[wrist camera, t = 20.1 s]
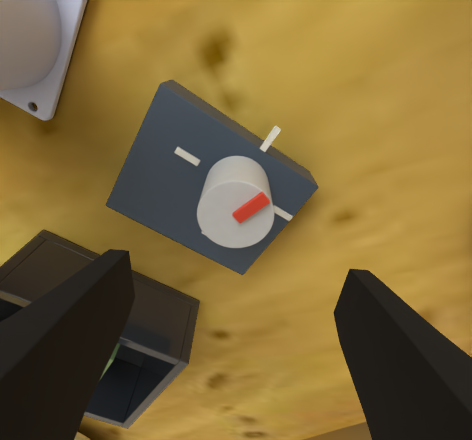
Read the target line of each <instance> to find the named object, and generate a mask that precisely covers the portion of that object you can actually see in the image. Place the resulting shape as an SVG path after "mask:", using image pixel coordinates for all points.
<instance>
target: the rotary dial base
mask: <svg viewBox="0 0 472 440" xmlns="http://www.w3.org/2000/svg"><path fill="white" fill-rule="evenodd" d="M280 130H281V129H280V128H278V127H277V126H276V125H275V126H274V128H273V129H272V131H271V132H270V133H269V135H268V136H267V138H266V139H265V141H263V140H262V139H260V138H259V137H257V136H256V135H254V134H253V133H251V132H250V131H248V130H247V129H245V128H244V127H242V126H241V125H239V124H238V123H236V122H235V121H233V120H232V119H230V118H229V117H227V116H226V115H224V114H223V113H221V112H220V111H218V110H217V109H216V108H214V107H213V106H211V105H210V104H208V103H207V102H205V101H204V100H202V99H201V98H199V97H198V96H196V95H195V94H193V93H192V92H190V91H189V90H187V89H186V88H184V87H183V86H181V85H180V84H178V83H177V82H175V81H174V80H169V81H166V82H163V83H161V84H160V85H159V87H158V90H157V92H156V94H155V96H154V99H153V101H152V103H151V105H150V107H149V110H148V112H147V114H146V116H145V119H144V121H143V123H142V125H141V127H140V130H139V132H138V134H137V136H136V138H135V141H134V143H133V145H132V147H131V150H130V152H129V154H128V156H127V158H126V161H125V163H124V165H123V167H122V170H121V172H120V174H119V176H118V178H117V181H116V183H115V185H114V187H113V190H112V192H111V194H110V196H109V198H108V201H107V203H106V206H107V207H109V208H111V209H113V210H115V211H117V212H119V213H121V214H123V215H125V216H127V217H129V218H131V219H133V220H135V221H137V222H139V223H141V224H143V225H145V226H147V227H149V228H151V229H153V230H155V231H157V232H158V233H160V234H162V235H164V236H166V237H168V238H170V239H172V240H174V241H176V242H178V243H180V244H182V245H184V246H186V247H188V248H190V249H192V250H194V251H196V252H198V253H200V254H202V255H204V256H206V257H208V258H210V259H212V260H214V261H216V262H218V263H220V264H221V265H223V266H225V267H227V268H229V269H231V270H233V271H235V272H237V273H239V274H241V275H243V274H244V273H245V272H246V271H247V270H248V268H249V267H250V266H251V265H252V264H253V263H254V261H255V260H256V259H257V258H258V257H259V256H260V255H261V253H262V252H263V251H264V250H265V249H266V248H267V246H268V245H269V244H270V243H271V242H272V241H273V239H274V238H275V237H276V236H277V235H278V234H279V233H280V231H281V230H282V229H283V228H284V227H285V226H286V224H287V223H288V222H289V221H290V220H291V219H292V218H293V216H294V215H295V214H296V213H297V212H298V211H299V209H300V208H301V207H302V206H303V205H304V204H305V202H306V201H307V200H308V199H309V198H310V197H311V196H312V194H313V193H314V192H315V191H316V190H317V189H318V185H317V183H316V182H315V180H314V178H313V176H312V175H311V173H310V171H308V170H307V169H305V168H304V167H302V166H301V165H299V164H298V163H296V162H295V161H293V160H292V159H290V158H289V157H287V156H286V155H284V154H283V153H281V152H280V151H278V150H277V149H275V148H274V147H272V146H271V143H272V142H273V140H274V139H275V138H276V136H277V135H278V133H279V132H280ZM230 156H244V157H247V158H250V159H252V160H254V161H256V162H257V163H258V164H259V165H260V166H261V167H262V168H263V169H264V171H265V173H266V175H267V178H268V182H269V187H270V192H271V198H272V203H273V208H274V221H273V225H272V227H271V229H270V231H269V232H268V234H267V235H266V236H265V237H264V238H263V239H262V240H260V241H259V242H257V243H256V244H253V245H251V246H248V247H243V248H229V247H224V246H221V245H219V244H217V243H215V242H213V241H212V240H210V239H209V238H208V237H207V236H206V235H205V234H204V233H203V231H202V230H201V228H200V226H199V223H198V219H197V208H198V204H199V201H200V197H201V194H202V191H203V187H204V184H205V181H206V178H207V175H208V172H209V171H210V169H211V168H212V167H213V165H215V164H216V163H217V162H218V161H220V160H222V159H224V158H226V157H230Z"/></svg>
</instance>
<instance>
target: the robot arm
mask: <svg viewBox="0 0 472 440" xmlns="http://www.w3.org/2000/svg"><path fill="white" fill-rule="evenodd" d="M86 3H87V0H0V97H1V98H3V99H5V100H6V101H8V102H10V103H12V104H14V105H15V106H17V107H19V108H21V109H23V110H24V111H26V112H28V113H30V114H32V115H33V116H35V117H37V118H39V119H41V120H43V121H47V120H50V119H52V118H53V116H54V114H55V110H56V107H57V103H58V100H59V96H60V93H61V89H62V86H63V83H64V79H65V76H66V72H67V69H68V65H69V62H70V58H71V55H72V51H73V48H74V44H75V41H76V38H77V34H78V31H79V27H80V24H81V20H82V17H83V13H84V10H85V6H86ZM33 102H34V103H35V104H36V105H37V108H38V110H36V109H34V107H33V105H32V103H33ZM134 299H135V291H134V284H133V277H132V270H131V263H130V256H129V251H125V250H113V249H110V250H108V251H107V252H105V253H104V254H102V255H101V256H99V257H98V258H96V259H95V260H93V261H92V262H91V263H89V264H88V265H86V266H85V267H84V268H82V269H81V270H79V271H78V272H77V273H75V274H74V275H72V276H71V277H69V278H68V279H66V280H65V281H64V282H62V283H61V284H59V285H58V286H56V287H55V288H53V289H52V290H51V291H49V292H47V293H46V294H44V295H43V296H41V297H40V298H38V299H37V300H35V301H33V302H32V303H30V304H29V305H27V306H26V307H24V308H22V309H21V310H19V311H18V312H16V313H15V314H13V315H11V316H10V317H8V318H6V319H5V320H3V321H1V322H0V440H74V439H75V436H76V434H77V431H78V429H79V426H80V423H81V421H82V418H83V415H84V413H85V411H86V408H87V406H88V404H89V401H90V399H91V397H92V395H93V393H94V391H95V389H96V386H97V384H98V382H99V380H100V378H101V376H102V374H103V372H104V370H105V368H106V366H107V364H108V362H109V360H110V358H111V355H112V353H113V351H114V349H115V347H116V345H117V343H118V341H119V339H120V337H121V335H122V332H123V330H124V328H125V326H126V323H127V320H128V317H129V315H130V312H131V309H132V305H133V302H134ZM334 317H335V322H336V327H337V332H338V337H339V341H340V345H341V348H342V351H343V354H344V357H345V360H346V363H347V365H348V368H349V371H350V374H351V377H352V380H353V383H354V386H355V389H356V391H357V394H358V397H359V400H360V403H361V406H362V409H363V412H364V414H365V417H366V421H367V424H368V427H369V430H370V434H371V437H372V440H472V358H471V357H470V356H469V355H467V354H466V353H465V352H464V351H462V350H461V349H460V348H459V347H457V346H456V345H455V344H454V343H452V342H451V341H450V340H449V339H447V338H446V337H445V336H444V335H443V334H441V333H440V332H439V331H438V330H437V329H435V328H434V327H433V326H432V325H431V324H429V323H428V322H427V321H426V320H425V319H424V318H422V317H421V316H420V315H419V314H418V313H417V312H415V311H414V310H413V309H412V308H411V307H410V306H409V305H408V304H406V303H405V302H404V301H403V300H402V299H401V298H400V297H399V296H397V295H396V294H395V293H394V292H393V291H392V290H391V289H390V288H388V287H387V286H386V285H385V284H384V283H383V282H382V281H380V280H379V279H378V278H377V277H376V276H375V275H373V274H372V273H371V272H370V271H368V270H358V269H349V272H348V275H347V277H346V280H345V283H344V286H343V288H342V291H341V294H340V297H339V299H338V302H337V305H336V308H335V310H334Z"/></svg>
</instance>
